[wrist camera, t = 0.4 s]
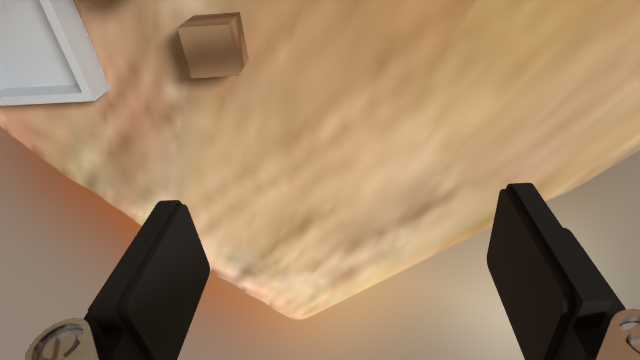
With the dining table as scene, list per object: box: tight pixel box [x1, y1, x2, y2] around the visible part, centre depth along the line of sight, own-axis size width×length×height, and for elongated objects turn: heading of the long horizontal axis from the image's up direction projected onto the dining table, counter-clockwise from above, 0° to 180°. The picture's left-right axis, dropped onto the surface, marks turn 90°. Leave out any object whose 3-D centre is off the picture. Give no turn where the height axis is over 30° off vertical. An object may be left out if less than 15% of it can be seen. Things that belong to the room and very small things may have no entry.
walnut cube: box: [177, 12, 249, 78], centre depth 40 cm, size 5×5×5 cm
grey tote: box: [0, 0, 110, 106], centre depth 40 cm, size 18×14×4 cm
